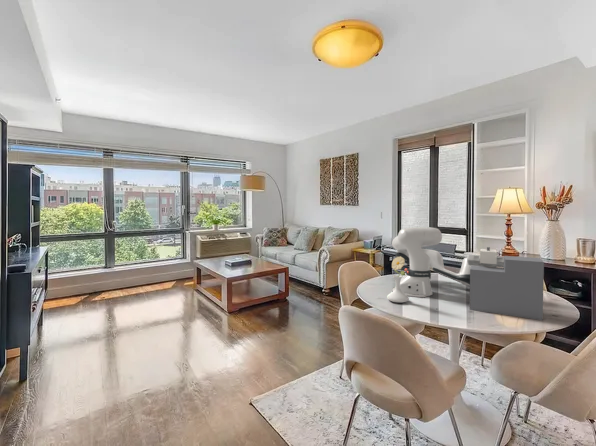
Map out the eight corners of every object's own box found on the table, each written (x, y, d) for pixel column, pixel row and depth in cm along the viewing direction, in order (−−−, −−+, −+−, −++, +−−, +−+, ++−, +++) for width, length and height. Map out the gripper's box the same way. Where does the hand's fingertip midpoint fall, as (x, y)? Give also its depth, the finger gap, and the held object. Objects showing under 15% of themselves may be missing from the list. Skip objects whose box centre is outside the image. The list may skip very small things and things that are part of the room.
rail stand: (470, 302, 156) (471, 253, 155) (538, 312, 141) (539, 258, 140) (469, 309, 146) (470, 257, 145) (542, 320, 131) (544, 262, 130)
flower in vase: (383, 298, 166) (383, 254, 165) (402, 297, 167) (403, 253, 166) (393, 305, 153) (393, 258, 152) (414, 304, 154) (414, 257, 153)
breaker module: (480, 257, 165) (480, 243, 165) (495, 258, 161) (495, 244, 161) (479, 263, 149) (480, 248, 149) (496, 264, 145) (496, 248, 145)
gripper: (509, 271, 164) (511, 262, 153) (467, 267, 175) (466, 259, 164) (509, 260, 166) (511, 251, 156) (467, 257, 177) (466, 248, 167)
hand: (488, 255), depth 160 cm, fingers closed on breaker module, 3 cm apart
